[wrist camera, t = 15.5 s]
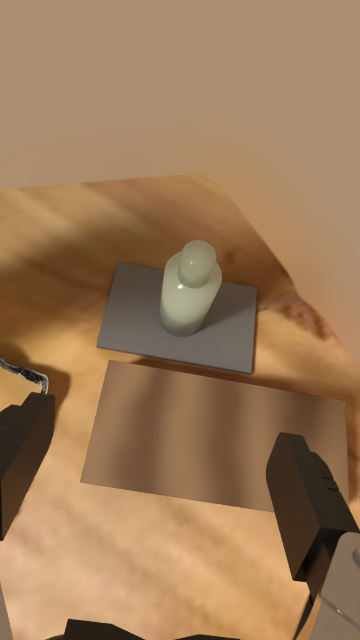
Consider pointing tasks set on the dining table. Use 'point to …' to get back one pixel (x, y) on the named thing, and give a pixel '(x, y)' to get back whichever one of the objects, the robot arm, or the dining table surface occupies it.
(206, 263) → the celadon bottle
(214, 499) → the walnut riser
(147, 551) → the dining table surface
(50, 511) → the dining table surface
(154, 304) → the charcoal mat
